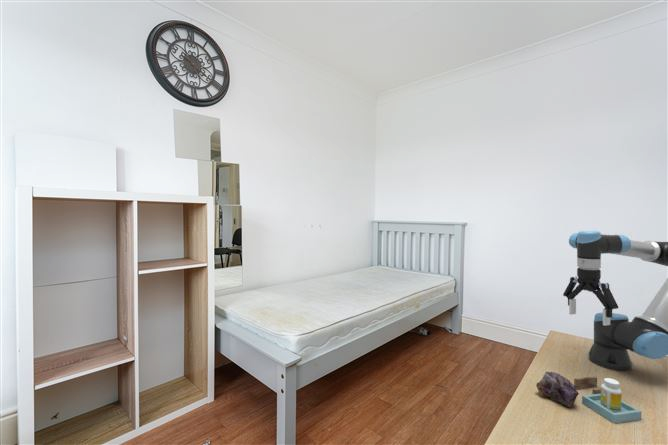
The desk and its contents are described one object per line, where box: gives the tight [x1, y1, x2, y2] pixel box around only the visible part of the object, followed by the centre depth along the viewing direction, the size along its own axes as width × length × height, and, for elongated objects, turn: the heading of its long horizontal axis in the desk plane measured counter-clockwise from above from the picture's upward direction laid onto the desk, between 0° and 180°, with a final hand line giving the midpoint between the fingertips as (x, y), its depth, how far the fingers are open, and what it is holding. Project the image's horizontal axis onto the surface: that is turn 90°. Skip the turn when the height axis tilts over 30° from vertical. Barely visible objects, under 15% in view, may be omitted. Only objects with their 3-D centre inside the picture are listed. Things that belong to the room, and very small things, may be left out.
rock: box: [535, 371, 580, 408], centre depth 115 cm, size 12×9×10 cm
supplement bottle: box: [600, 377, 623, 412], centre depth 108 cm, size 5×5×10 cm
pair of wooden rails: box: [573, 375, 601, 394], centre depth 119 cm, size 10×8×4 cm
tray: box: [581, 393, 642, 424], centre depth 108 cm, size 11×11×3 cm
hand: (588, 319), depth 127 cm, fingers open, 13 cm apart
